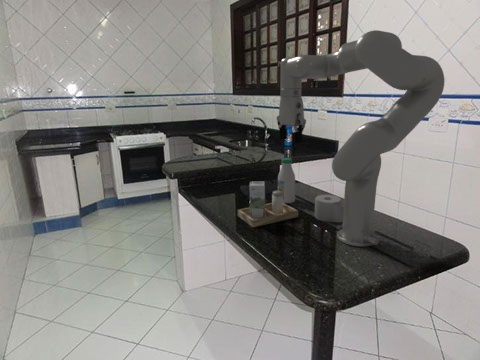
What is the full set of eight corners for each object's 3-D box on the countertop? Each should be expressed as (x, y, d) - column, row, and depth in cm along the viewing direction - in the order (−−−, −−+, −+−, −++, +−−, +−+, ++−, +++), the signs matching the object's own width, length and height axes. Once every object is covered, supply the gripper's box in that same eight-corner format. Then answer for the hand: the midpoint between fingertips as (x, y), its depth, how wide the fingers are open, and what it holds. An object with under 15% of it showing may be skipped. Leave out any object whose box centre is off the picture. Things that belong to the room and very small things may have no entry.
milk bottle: (294, 199, 150) (295, 156, 144) (295, 205, 142) (296, 160, 137) (277, 199, 150) (277, 156, 145) (277, 205, 143) (277, 160, 138)
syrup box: (264, 215, 129) (264, 180, 125) (265, 221, 123) (264, 185, 119) (250, 215, 129) (249, 180, 126) (250, 221, 124) (249, 185, 120)
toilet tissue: (350, 225, 120) (352, 203, 118) (314, 223, 123) (314, 201, 121) (349, 216, 129) (350, 195, 126) (314, 214, 132) (315, 194, 129)
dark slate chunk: (237, 189, 168) (237, 180, 167) (276, 184, 174) (276, 176, 173) (246, 198, 154) (245, 189, 153) (288, 193, 160) (288, 184, 159)
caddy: (298, 219, 127) (298, 210, 126) (253, 229, 119) (252, 220, 118) (279, 208, 139) (279, 201, 138) (237, 218, 130) (237, 209, 129)
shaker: (285, 214, 130) (285, 192, 127) (276, 216, 128) (276, 194, 125) (279, 211, 133) (279, 189, 131) (270, 213, 132) (270, 191, 129)
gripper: (314, 93, 112) (312, 143, 117) (286, 93, 127) (285, 137, 132) (296, 94, 109) (295, 145, 114) (269, 94, 124) (269, 139, 129)
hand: (290, 140), depth 123 cm, fingers open, 9 cm apart
